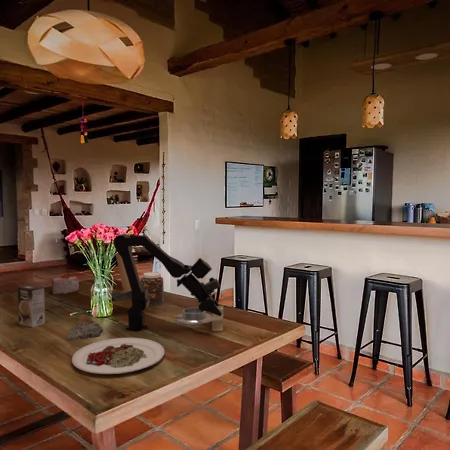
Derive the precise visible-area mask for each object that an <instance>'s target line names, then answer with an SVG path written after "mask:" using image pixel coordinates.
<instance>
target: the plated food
mask: <svg viewBox="0 0 450 450" xmlns="http://www.w3.org/2000/svg"><path fill="white" fill-rule="evenodd" d="M164 355H165V348H164V346H163V345H161V344H160V343H159V342H157V341H156V340H155V341H154V340H151V339H146V338H141V337H117V338H110V339H103V340H99V341H95V342H93V343H90V344H88V345H87V344H86V345H85V346H83V347H81V348H80V349H78V350H77V351H76V352H74V354H73V356H72V357H71V358H72V359H71V362H72V364H73V367H75V368H77V369H79V370H81V371H83V372H87V373H91V374H99V375H116V374H117V375H118V374H126V373H132V372H137V371H139V370H143V369H146V368H148V367H151V366H154V365H155V364H157V363H158V362H160V361H161V360H162V359H163V357H164Z"/></svg>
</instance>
